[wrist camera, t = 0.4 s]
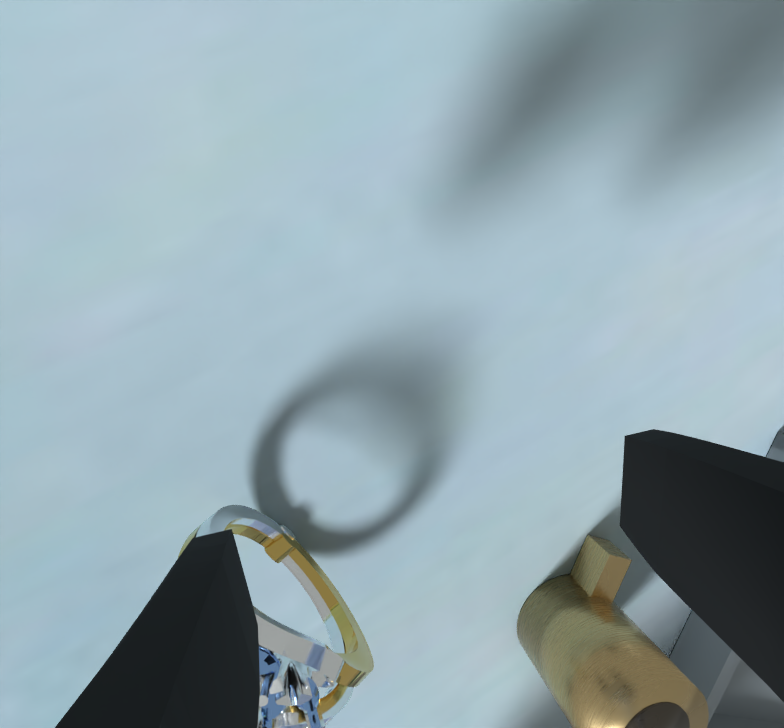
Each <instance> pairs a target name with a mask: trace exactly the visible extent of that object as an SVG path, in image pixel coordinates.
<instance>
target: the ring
mask: <svg viewBox="0 0 784 728" xmlns="http://www.w3.org/2000/svg"><path fill="white" fill-rule="evenodd" d="M229 529H232V532H233V534H238V535H242V536H245V537H248V538H250V539H252V540H254V541H256V542H258V543H259V544H261V545H262V546H264V547H265V551H266V553H267V554H268V555H269V556H270V557H271V558H272V559H273V560H274V561H275V562H277V563H280V562H282V563H283V564H284V565H285V566H286V567H287V568H288V569H289V570H290V571H291V572H292V574H293V575H294V576H295V577H296V578H297V580H298V581H299V582H300V583H301V585H302V586H303V587H304V589H305V590H306V592H307V593H308V595H309V596H310V598H311V599H312V601H313V603H314V604H315V606H316V608H317V610H318V612H319V614H320V615H321V618H322V620H323V622H324V624H325V627H326V629H327V632H328V635H329V638H330V641H331V645H332V650H333V651H332V650H331V649H330V648H329V647H328V646H327V645H325V644H324V643H322V642H320V641H318V640H316V639H314V638H312V637H309V636H307V635H305V634H302V633H300V632H298V631H296V630H294V629H291V628H289V627H287V626H285V625H283V624H281V623H279V622H277V621H276V620H274V619H272V618H270V617H269V616H267V615H265V614H264V613H262V612H261V611H259V610H258V609H257V608H255V607H254V606H253V609H254V612H255V616H256V620H257V623H258V640H259V671H260V697H259V712H258V726H257V728H325V725H326V724H328V723H329V722H330V721H331V720H332V719H333V717H335V716H336V715H337V714H338V713H339V712H340V711H341V710H342V709H343V708H344V707H345V706H346V704H347V703H348V701H349V700H350V698H351V696H352V693H353V690H354V687H356V686H358V685H359V684H360V683H361V682H362V681H363V680H364V679H365V678H366V677H367V676H368V675H369V674H370V672H371V671H372V670H373V667H374V663H373V658H372V655H371V652H370V649H369V646H368V644H367V642H366V640H365V637H364V635H363V633H362V631H361V629H360V627H359V625H358V624H357V622H356V620H355V618H354V616H353V615H352V613H351V611H350V610H349V608H348V606H347V605H346V603H345V601H344V600H343V598H342V597H341V595H340V594H339V592H338V591H337V589H336V588H335V586H334V585H333V584H332V582H331V581H330V580H329V578H328V577H327V576H326V574H325V573H324V572H323V570H322V569H321V568H320V567H319V565H318V564H317V563H316V562H315V561H314V559H313V558H312V557H311V556H310V555H309V554H308V553H307V551H306V550H305V549H304V548H303V547H302V546H301V545H300V544H299V543H298V542H297V541H296V540H295V539H296V537H295V535H294V534H293V533H292V532H291V531H290V530H289V529H288V528H287V527H286V526H285V525H281V526H280V525H279V524H278V523H276V522H275V521H274V520H272V519H271V518H269V517H268V516H266V515H264V514H263V513H261V512H259V511H257V510H255V509H252V508H250V507H246V506H242V505H228V506H225V507H223V508H221V509H219V510H218V511H217V512H215V513H214V514H213V515H212V516H210V517H209V518H208V519H206V520H205V521H204V522H203V523H202V524H201V525H200V526H199V527H197V528H196V529H195V530H194V531H193V532H192V533H191V534H190V535H189V537H188V538H187V539H186V541H185V543H184V544H183V546H182V548H181V551H180V554H179V556H180V555H181V554H182V552H183V551H184V549H185V548H186V546H187V545H188V544H189V542H190V541H191V540H192V538H195V537H199V536H203V535H208V534H212V533H216V532H220V531H225V530H229ZM179 556H178V558H179ZM318 687H329V688H328V690H327V692H326V694H325V695H324V697H323V698H321V699H319V691H318ZM291 693H292V695H291ZM292 697H293V700H294V701H295V703H296V705H295V706H290V705H292Z"/></svg>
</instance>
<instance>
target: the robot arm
mask: <svg viewBox="0 0 784 728" xmlns="http://www.w3.org/2000/svg"><path fill="white" fill-rule="evenodd" d="M620 527H621V528H622V529H623V531H624V532H625V533H626V535H627V536H628V538H629V539H630V540H631V542H632V543H633V544H634V546H635V547H636V548H637V550H638V551H639V552H640V553H641V555H642V556H643V557H644V558H645V560H646V561H647V562H648V563H649V565H650V566H651V567H652V568H653V570H654V571H655V572H656V573H657V574H658V575H659V576H660V577H661V579H662V580H663V581H664V582H665V583H666V584H667V585H668V586H669V587H670V588H671V589H672V590H673V591H674V592H675V593H676V594H677V595H678V596H679V597H680V598H681V599H682V600H683V601H684V602H685V603H686V604H687V605H688V606H689V607H690V608H691V609H692V610H693V611H694V612H695V613H696V614H697V615H698V616H699V617H700V618H701V619H702V620H703V621H704V622H705V623H706V624H707V625H708V626H709V627H710V628H711V629H712V630H713V631H714V632H715V633H716V634H717V635H718V636H719V637H720V638H721V639H722V640H723V641H724V642H725V643H726V644H727V645H728V646H729V647H730V648H731V649H732V650H733V651H734V652H735V653H736V654H737V655H738V656H739V657H740V658H741V659H742V660H743V661H744V662H745V663H746V664H747V665H748V666H749V667H750V668H751V669H752V670H753V671H754V672H755V673H756V674H757V675H758V676H759V677H760V678H761V679H762V680H763V681H764V682H765V683H766V684H767V685H768V686H769V687H770V688H771V690H772V691H773V692H774V693H775V694H776V695H777V696H778V697H779V698H780V699H781V700H782V701H783V702H784V462H781V461H777V460H774V459H770V458H766V457H763V456H759V455H756V454H752V453H748V452H745V451H741V450H737V449H734V448H730V447H726V446H723V445H719V444H715V443H712V442H708V441H704V440H700V439H696V438H692V437H688V436H684V435H680V434H675V433H671V432H666V431H660V430H654V429H653V430H648V431H644V432H640V433H636V434H631V435H627V436H625V444H624V462H623V480H622V498H621V516H620ZM259 697H260V671H259V640H258V623H257V620H256V616H255V612H254V609H253V605H252V601H251V598H250V594H249V590H248V587H247V583H246V579H245V576H244V572H243V568H242V565H241V561H240V557H239V554H238V550H237V546H236V543H235V539H234V535H233V532H232V529H229V530H225V531H220V532H216V533H212V534H208V535H203V536H199V537H195V538H192V540H191V541H190V542H189V544H188V545H187V546H186V548H185V549H184V551H183V552H182V554H181V555H180V556H179V558H178V559H177V561H176V562H175V564H174V565H173V567H172V568H171V570H170V571H169V573H168V574H167V576H166V577H165V579H164V580H163V582H162V583H161V584H160V586H159V587H158V589H157V590H156V592H155V593H154V595H153V596H152V598H151V599H150V601H149V602H148V603H147V605H146V606H145V608H144V609H143V611H142V612H141V614H140V615H139V616H138V618H137V619H136V621H135V622H134V623H133V625H132V626H131V628H130V629H129V630H128V632H127V633H126V634H125V636H124V637H123V639H122V640H121V641H120V643H119V644H118V646H117V647H116V648H115V650H114V651H113V653H112V654H111V655H110V657H109V658H108V660H107V661H106V662H105V664H104V665H103V666H102V668H101V669H100V670H99V672H98V673H97V674H96V676H95V677H94V678H93V679H92V681H91V682H90V683H89V685H88V686H87V687H86V688H85V690H84V691H83V692H82V694H81V695H80V696H79V697H78V699H77V700H76V701H75V703H74V704H73V705H72V706H71V708H70V709H69V710H68V712H67V713H66V714H65V715H64V717H63V718H62V719H61V721H60V722H59V723H58V724H57V726H56V727H55V728H257V726H258V712H259Z"/></svg>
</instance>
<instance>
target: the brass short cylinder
mask: <svg viewBox="0 0 784 728" xmlns="http://www.w3.org/2000/svg"><path fill="white" fill-rule="evenodd" d="M631 561H632V560H631V559H630V558H628V557H627V556H626V555H625V554H624V553H623V552H621V551H620V550H619V549H618V548H617V547H616V546H614V545H613V544H612V543H611V542H610V541H609V540H606V539H602V538H598V537H594V536H591V535H587V537H586V539H585V542H584V544H583V546H582V548H581V551H580V553H579V555H578V557H577V560H576V562H575V564H574V566H573V569H572V571H571V573H570V575H563V576H559V577H556V578H553V579H551V580H549V581H547V582H545V583H544V584H542V585H541V586H539V587H538V588H537V589H536V590H535V591H534V592H533V593H532V594H531V595H530V596H529V597H528V599H527V600H526V602H525V603H524V605H523V607H522V609H521V611H520V614H519V617H518V622H517V634H518V639H519V641H520V644H521V645H522V647H523V649H524V650H525V652H526V654H527V655H528V657H529V658H530V660H531V662H532V663H533V665H534V666H535V668H536V670H537V671H538V673H539V674H540V676H541V678H542V679H543V681H544V682H545V684H546V686H547V687H548V689H549V690H550V692H551V694H552V695H553V697H554V698H555V700H556V702H557V703H558V705H559V706H560V708H561V710H562V711H563V713H564V715H565V716H566V718H567V719H568V721H569V723H570V724H571V726H572V727H573V728H707V725H708V718H709V712H708V705H707V701H706V699H705V697H704V695H703V694H702V692H701V691H700V690H699V689H698V688H697V687H696V686H695V685H694V684H693V683H692V682H691V681H690V680H689V679H688V678H687V677H686V676H685V675H684V674H683V673H682V672H681V671H680V670H679V669H678V667H677V666H676V665H675V664H674V663H673V662H672V661H671V660H670V659H669V658H668V657H667V656H666V655H665V654H664V653H663V652H662V651H661V650H660V649H659V648H658V647H657V646H656V645H655V644H654V643H653V642H652V641H651V640H650V639H649V638H648V637H647V636H646V635H645V634H644V633H643V632H642V630H641V629H640V628H639V627H638V626H637V625H636V624H635V623H634V622H633V621H632V620H631V619H630V618H629V617H628V616H627V615H626V614H625V613H624V612H623V611H622V610H621V609H620V608H619V607H618V606H617V605H616V604H615V603H614V602H613V600H614V598H615V596H616V593H617V591H618V589H619V587H620V585H621V582H622V580H623V578H624V576H625V574H626V572H627V569H628V567H629V565H630V563H631Z"/></svg>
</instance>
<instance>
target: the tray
mask: <svg viewBox="0 0 784 728" xmlns="http://www.w3.org/2000/svg"><path fill="white" fill-rule="evenodd" d="M766 458H770V459H774V460H777V461H781V462H784V433H781V432H778V434H777V436H776V438H775V440H774V442H773V444H772V446H771V448H770V450H769V452H768V454H767V456H766ZM669 659H670V660H671V661H672V662H673V663H674V664H675V665H676V666H677V667H678V669H679V670H680V671H681V672H682V673H683V674H684V675H685V676H686V677H687V678H688V679H689V680H690V681H691V682H692V683H693V684H694V685H695V686H696V687H697V688H698V689H699V690H700V691H701V692H702V694H703V695H704V697H705V699H706V701H707V705H708V712H709V718H708V725H707V728H784V702H783V701H782V700H781V699H780V698H779V697H778V696H777V695H776V694H775V693H774V692H773V691H772V690H771V688H770V687H769V686H768V685H767V684H766V683H765V682H764V681H763V680H762V679H761V678H760V677H759V676H758V675H757V674H756V673H755V672H754V671H753V670H752V669H751V668H750V667H749V666H748V665H747V664H746V663H745V662H744V661H743V660H742V659H741V658H740V657H739V656H738V655H737V654H736V653H735V652H734V651H733V650H732V649H731V648H730V647H729V646H728V645H727V644H726V643H725V642H724V641H723V640H722V639H721V638H720V637H719V636H718V635H717V634H716V633H715V632H714V631H713V630H712V629H711V628H710V627H709V626H708V625H707V624H706V623H705V622H704V621H703V620H702V619H701V618H700V617H699V616H698V615H697V614H696V613H695V612H694V611H693V610H692V612H691V614H690V616H689V618H688V620H687V622H686V624H685V626H684V628H683V631H682V633H681V635H680V637H679V639H678V641H677V643H676V645H675V647H674V649H673V651H672V653H671V655H670V658H669Z"/></svg>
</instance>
